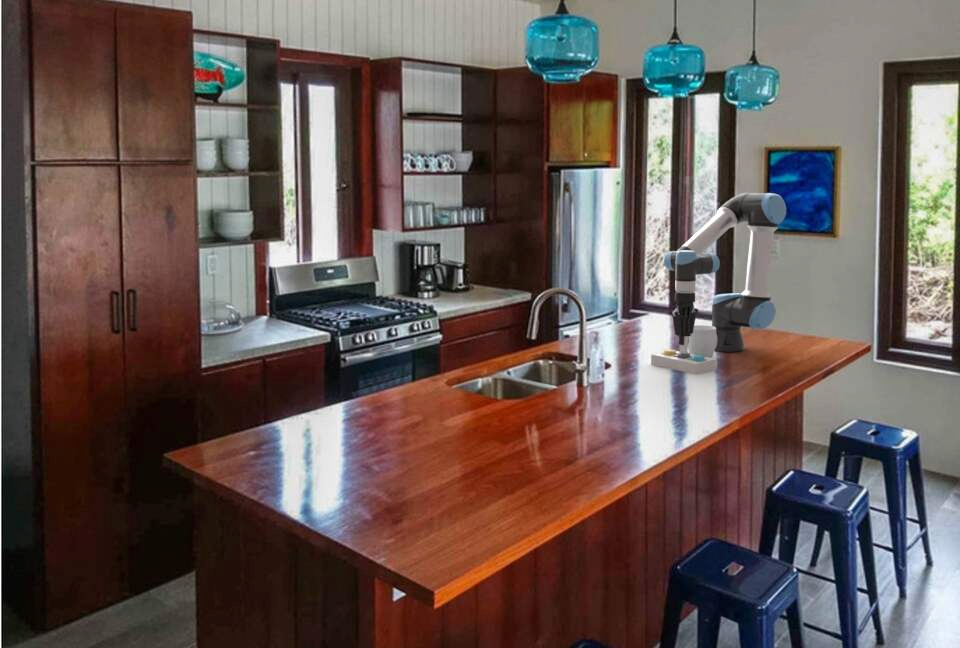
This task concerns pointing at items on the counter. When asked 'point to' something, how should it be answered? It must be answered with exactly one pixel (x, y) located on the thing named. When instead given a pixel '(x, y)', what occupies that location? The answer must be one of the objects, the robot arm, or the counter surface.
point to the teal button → (698, 358)
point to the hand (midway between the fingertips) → (683, 352)
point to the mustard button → (669, 352)
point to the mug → (703, 340)
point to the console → (683, 363)
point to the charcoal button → (683, 355)
